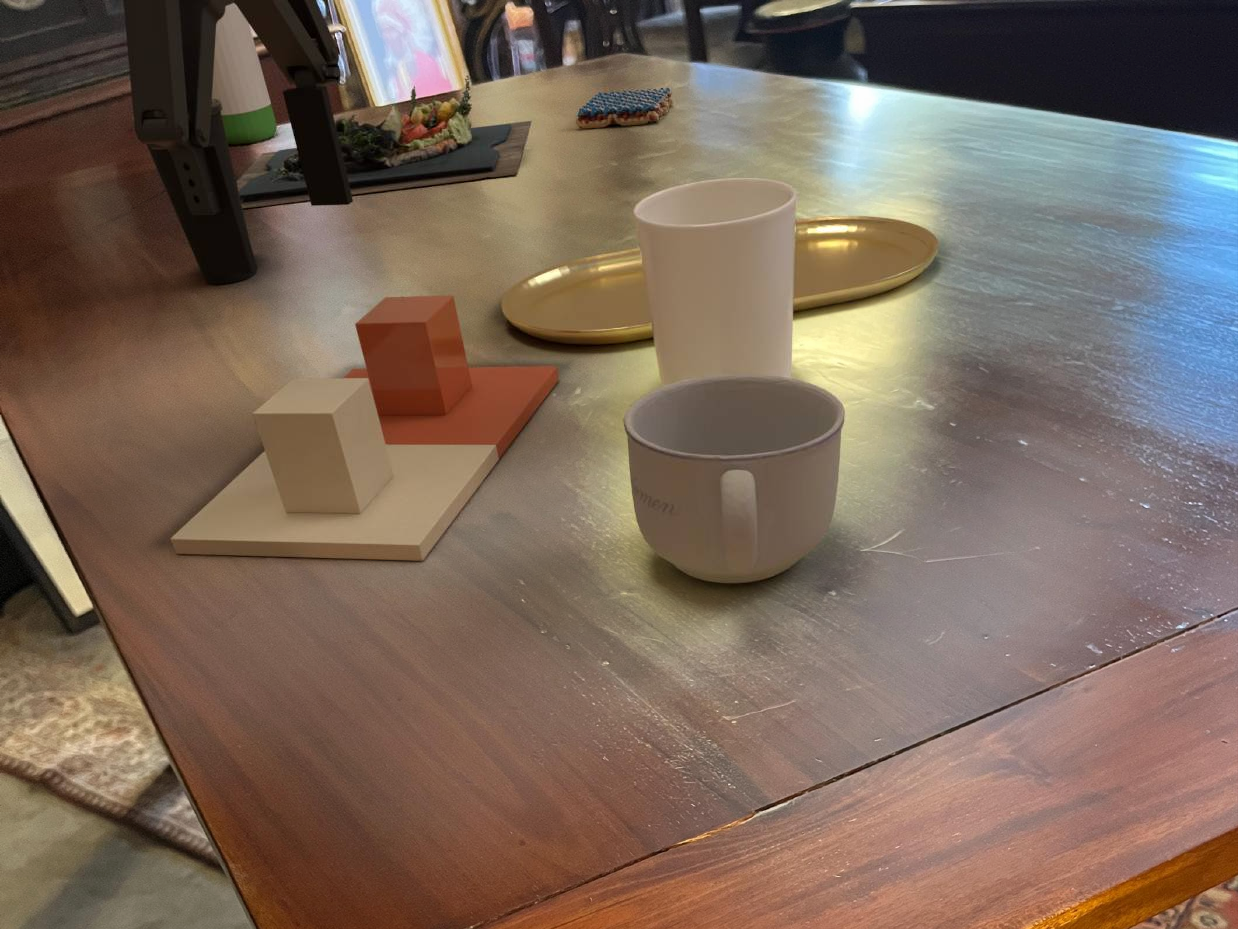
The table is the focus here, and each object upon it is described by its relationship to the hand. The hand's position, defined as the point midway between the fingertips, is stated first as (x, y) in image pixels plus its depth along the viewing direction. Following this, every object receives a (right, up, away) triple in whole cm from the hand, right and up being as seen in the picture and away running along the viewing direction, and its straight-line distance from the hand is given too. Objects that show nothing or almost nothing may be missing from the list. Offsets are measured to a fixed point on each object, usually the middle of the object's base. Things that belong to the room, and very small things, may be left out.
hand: (286, 236), depth 75 cm
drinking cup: (-17, +16, +39) cm, 45 cm away
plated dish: (-9, +44, +67) cm, 81 cm away
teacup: (+27, -24, -12) cm, 38 cm away
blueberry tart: (+20, +52, +72) cm, 91 cm away
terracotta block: (+7, -7, +7) cm, 13 cm away
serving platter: (+28, +7, +21) cm, 36 cm away
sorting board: (+5, -13, +3) cm, 14 cm away
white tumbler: (+28, -9, +5) cm, 30 cm away
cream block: (+4, -17, -2) cm, 17 cm away
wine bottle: (-31, +58, +86) cm, 109 cm away
